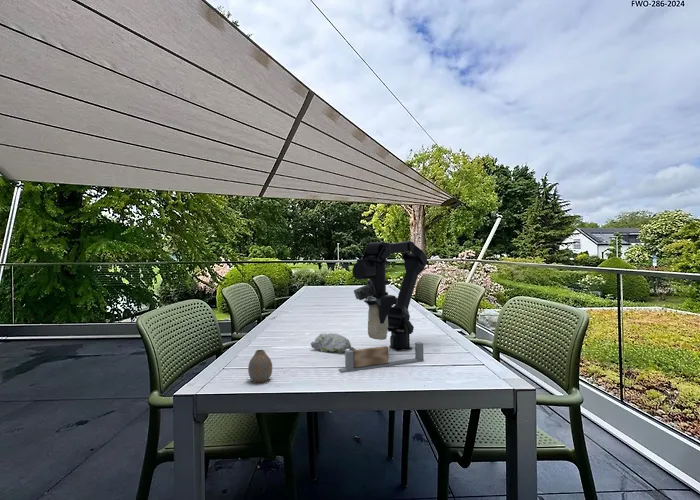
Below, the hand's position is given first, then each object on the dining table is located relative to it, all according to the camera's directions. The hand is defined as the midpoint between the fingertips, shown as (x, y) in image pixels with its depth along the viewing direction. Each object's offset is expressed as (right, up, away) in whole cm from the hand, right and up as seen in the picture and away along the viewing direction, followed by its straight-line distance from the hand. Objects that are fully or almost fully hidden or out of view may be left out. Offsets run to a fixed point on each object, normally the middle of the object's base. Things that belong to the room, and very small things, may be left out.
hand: (378, 321), depth 132 cm
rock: (-17, -13, +8) cm, 23 cm away
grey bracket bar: (0, -12, -11) cm, 16 cm away
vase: (-36, -13, -22) cm, 44 cm away
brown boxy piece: (-4, -11, -10) cm, 15 cm away
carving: (0, -6, 0) cm, 6 cm away
